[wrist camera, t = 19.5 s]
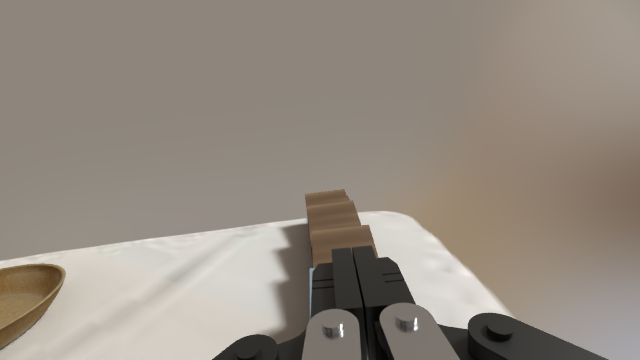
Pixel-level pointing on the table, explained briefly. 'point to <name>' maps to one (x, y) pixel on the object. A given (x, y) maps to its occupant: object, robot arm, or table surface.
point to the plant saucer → (26, 297)
